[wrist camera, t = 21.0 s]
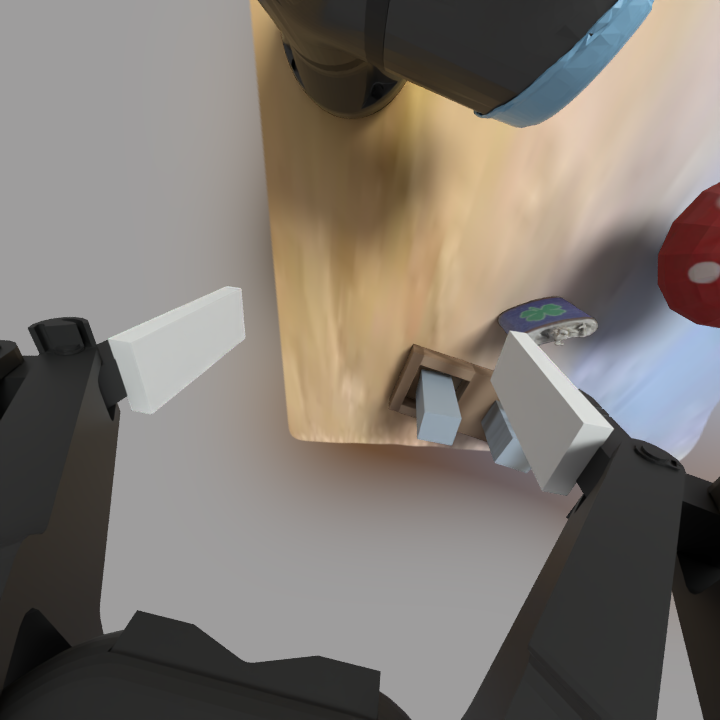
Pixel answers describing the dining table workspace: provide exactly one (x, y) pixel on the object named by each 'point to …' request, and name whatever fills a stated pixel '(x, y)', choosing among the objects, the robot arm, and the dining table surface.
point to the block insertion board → (466, 404)
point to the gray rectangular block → (436, 408)
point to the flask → (548, 320)
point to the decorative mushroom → (694, 261)
